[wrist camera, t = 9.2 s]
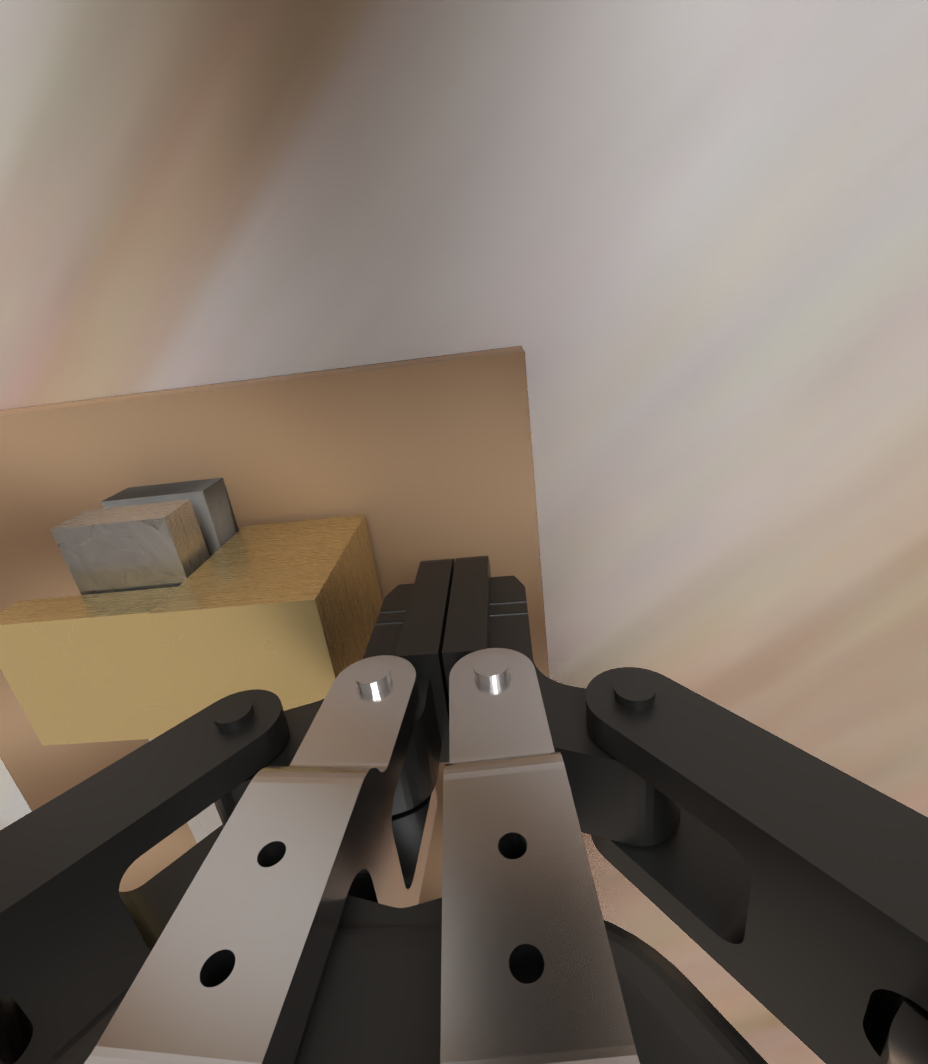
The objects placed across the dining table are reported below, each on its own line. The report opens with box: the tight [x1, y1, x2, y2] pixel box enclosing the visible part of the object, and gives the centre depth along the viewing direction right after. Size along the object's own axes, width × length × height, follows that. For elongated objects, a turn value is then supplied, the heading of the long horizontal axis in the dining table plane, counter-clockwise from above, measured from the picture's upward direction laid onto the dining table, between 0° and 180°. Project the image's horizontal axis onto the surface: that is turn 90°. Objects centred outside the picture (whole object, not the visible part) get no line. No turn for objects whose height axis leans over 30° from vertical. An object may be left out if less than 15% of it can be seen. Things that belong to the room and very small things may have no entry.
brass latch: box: [0, 514, 383, 746], centre depth 12 cm, size 4×7×4 cm, turn 97°
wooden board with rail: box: [0, 346, 549, 904], centre depth 16 cm, size 24×17×4 cm
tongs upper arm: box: [51, 500, 222, 843], centre depth 15 cm, size 20×2×1 cm, turn 7°
